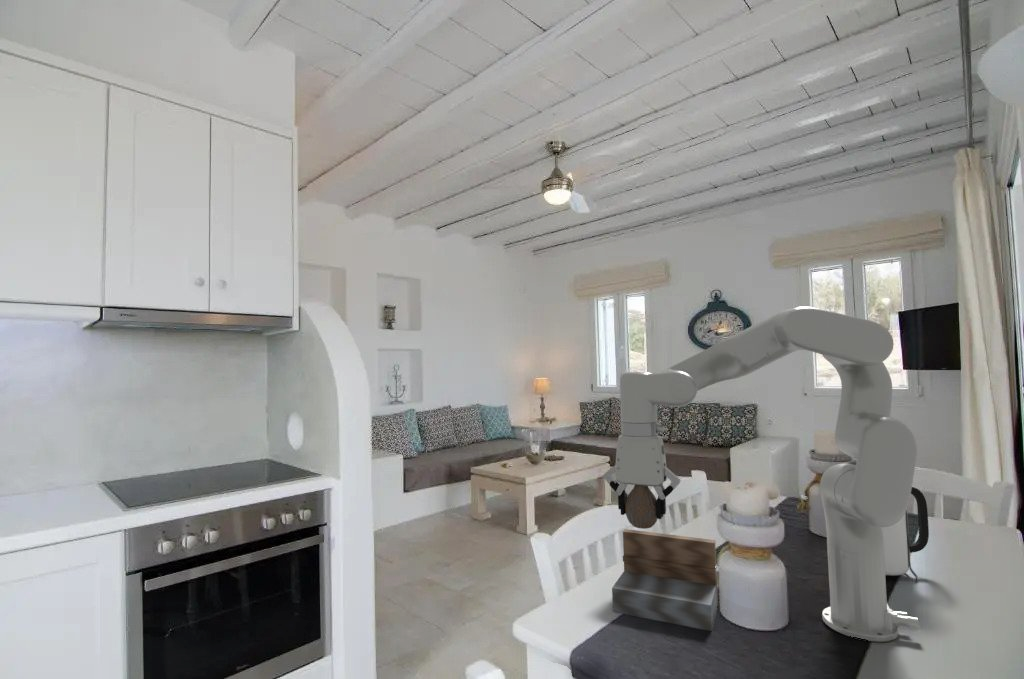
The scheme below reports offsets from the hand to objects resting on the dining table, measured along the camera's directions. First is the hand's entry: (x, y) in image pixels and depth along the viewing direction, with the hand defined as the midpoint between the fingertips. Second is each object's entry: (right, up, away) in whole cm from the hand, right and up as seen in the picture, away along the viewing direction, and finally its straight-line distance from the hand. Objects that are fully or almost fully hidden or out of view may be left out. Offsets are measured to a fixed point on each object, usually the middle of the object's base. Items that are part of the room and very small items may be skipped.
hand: (642, 514), depth 109 cm
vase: (0, -3, 0) cm, 3 cm away
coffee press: (+65, -21, +19) cm, 71 cm away
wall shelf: (+6, -21, +3) cm, 22 cm away
